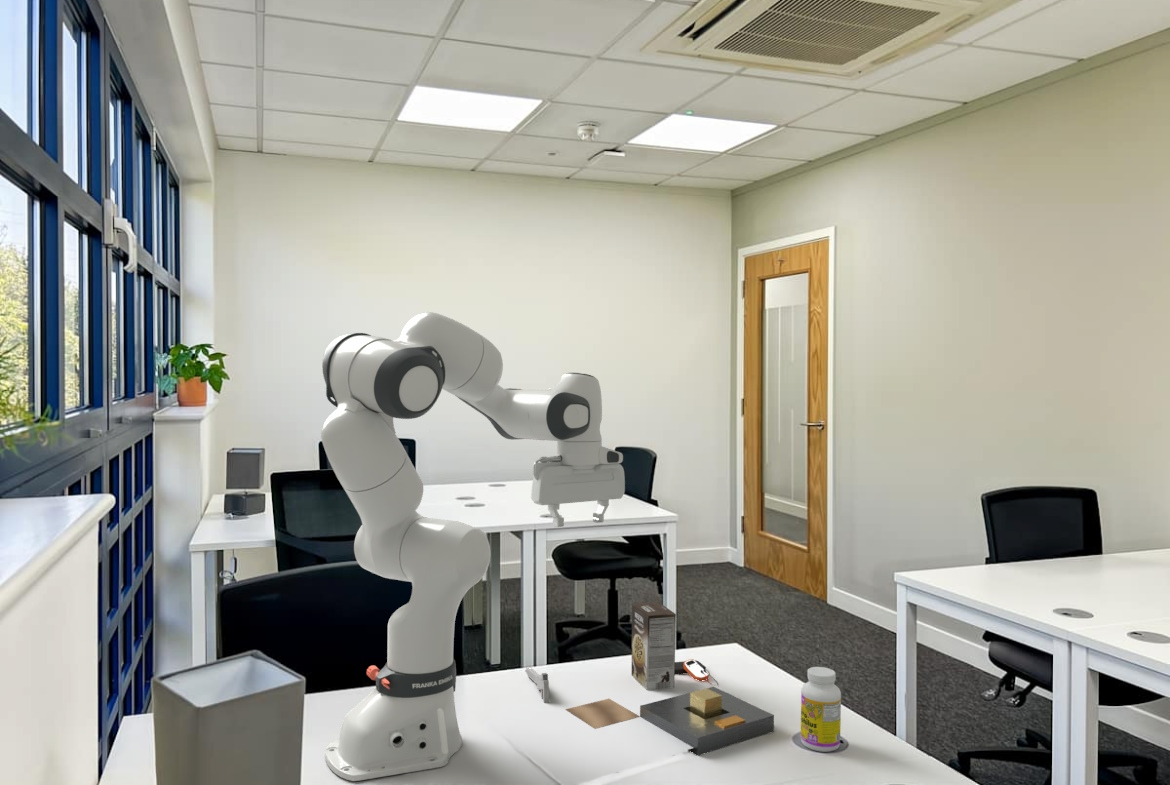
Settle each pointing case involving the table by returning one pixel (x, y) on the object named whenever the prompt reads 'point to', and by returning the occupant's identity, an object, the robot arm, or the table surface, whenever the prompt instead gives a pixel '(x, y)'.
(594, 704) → the copper pad
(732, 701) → the hole plate
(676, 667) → the multimeter
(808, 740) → the supplement bottle
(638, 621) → the coffee box
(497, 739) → the table surface
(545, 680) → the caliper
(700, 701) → the brass peg
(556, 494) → the robot arm
